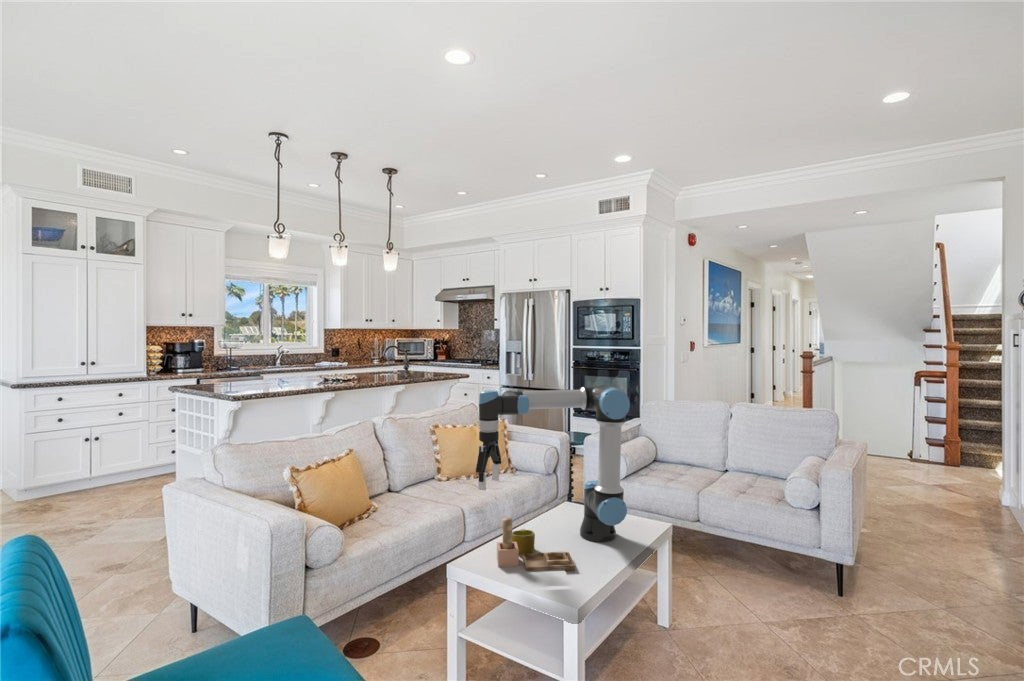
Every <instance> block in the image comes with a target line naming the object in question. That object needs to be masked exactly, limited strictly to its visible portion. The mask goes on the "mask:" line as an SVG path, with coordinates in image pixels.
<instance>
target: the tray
mask: <svg viewBox="0 0 1024 681" xmlns="http://www.w3.org/2000/svg"><path fill="white" fill-rule="evenodd" d="M521 556H522V557H521V558H522V562H523V565H524V568H525V571H526V572H533V571H534V572H535V571H552V570H557V571H558V570H564V572H565V573H567V572H570V573H571V572H576V563H575V562H574V560H573V558H572V556H571V554H570V552H569V551H544V552H534V553H527V554H522V555H521Z"/></svg>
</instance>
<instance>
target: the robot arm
mask: <svg viewBox="0 0 1024 681" xmlns="http://www.w3.org/2000/svg"><path fill="white" fill-rule="evenodd" d="M478 398H479V399H478V417H479V418H478V422H477V423H478V425H479V426H478V429H479V431H478V432H479V433H478V437H479V438H478V440H479V441H480V442H481V443H482V445H479V446H478V456H477V461H476V467H475V473H476V474H478V491H486V490H487V479H486V478H487V472H486V469H487V465H488V461H489V458H490V459H491V461H492V464H491V481H496V482H498V481H500V465H501V464H502V456H501V450H500V448H499V427H500V424H499V420H500V419H499V416H506V415H507V416H511V415H512V416H514V415H518V416H521V415H528V414H529V412H530V410H538V409H539V410H540V409H541V410H545V409H570V408H571V409H572V408H573V409H575V408H581V410H583V411H594V412H595V421H596V422H597V424H598V425H599V435H598V436H599V438H598V440H599V441H598V444H599V445H598V476H597V477H598V478H597V479H598V480H588V481H586V482H584V486H583V487H584V488H583V492H584V493H583V494H584V495H583V515H584V516H583V518H582V522H581V523H580V524H581V525H580V528H579V534H580V538H581V537H582V538H583V539H585V540H587V541H591V542H598V543H599V542H600V543H602V542H609V541H613V540H615V539H616V536H617V533H616V532H617V531H616V527H615V526H617V525H619V524H621V523H622V522H623V521H624V520H625V518H626V517H627V513H628V507H627V505H626V504H627V503H626V502H625V501H624V494H625V493H624V488H623V487H622V485H621V459H622V457H621V456H622V454H621V453H622V452H621V451H622V450H621V448H622V426H623V425H624V424H625V423H626V419H627V418H626V415H627V414H628V413H629V411H630V405H631V404H630V399H629V396H628V395H627V394H626V393H625V392H624V391H623V390H621V389H620V388H618V387H614V386H610V385H605V384H603V385H602V384H601V385H593V386H581V387H580V388H579V389H561V390H560V389H556V390H555V389H554V390H553V389H551V390H525V391H524V390H523V391H522V390H520V391H513V390H504V391H503V392H501V394H499V392H498V391H497V390H493V389H492V390H490V389H489V390H488V389H486V390H482V391H480V392H479V396H478Z"/></svg>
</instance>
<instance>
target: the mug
mask: <svg viewBox="0 0 1024 681" xmlns="http://www.w3.org/2000/svg"><path fill="white" fill-rule="evenodd" d="M535 536H536V534H535V532H534V531H533V530H530V529H525V528H523V529H522V528H521V529H520V530H518V529H517V530H514V531H513V530H512V542H517V546H518V549H519V556H522V554H527V553H535V543H536V542H535V540H536V538H535Z"/></svg>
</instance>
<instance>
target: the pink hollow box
mask: <svg viewBox="0 0 1024 681" xmlns="http://www.w3.org/2000/svg"><path fill="white" fill-rule="evenodd" d="M519 556H520V555H519V549H518V546H517V542H512V549H503V541H500V542H496V563H497V568H503V567H505V568H507V567H520V566H519V565H520V564H519V562H520V561H519Z"/></svg>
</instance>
